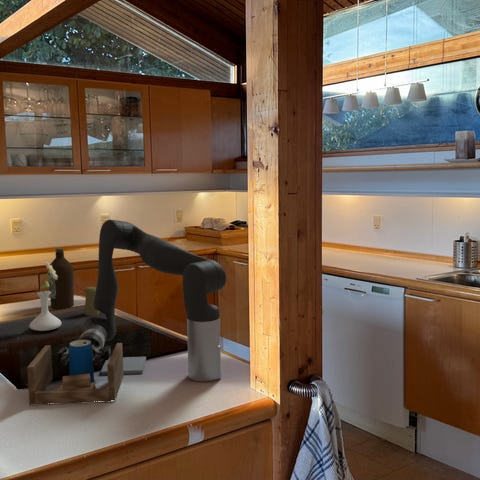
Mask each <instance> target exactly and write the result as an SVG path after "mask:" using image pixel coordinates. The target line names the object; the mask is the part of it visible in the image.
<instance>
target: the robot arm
mask: <svg viewBox="0 0 480 480" xmlns="http://www.w3.org/2000/svg"><path fill="white" fill-rule="evenodd" d="M114 249H116V250H117V249H118V250H124V251H125V250H127V251H131V252H133V253H135V254H138V255H139V257H140V260H141V262H143V263H144V264H145V265H146V266H148V267H150V268H152V269H153V270H156V271H158V272H160V273H163V274H169V275H175V276H182V291H183V305H184V309H185V312H186V318H187V319H186V324H187V325H186V326H187V327H186V328H187V331H186V332H187V360H188V361H187V372H188V373H187V375H188V378H189V379H190V380H191V381H195V382H210V381H211V382H212V381H215V380H216V381H217V380H220V379H222V377H221V376H222V369H221V367H222V366H221V362H222V361H221V358H222V357H221V331H220V327H221V326H220V325H221V323H220V321H221V320H220V318H221V317H220V315H221V313H220V308H219V306H217V305H215V304H212V303H211V304H210V303H208V296H207V295H208V294H212V293H216V292H218V291H220V290H221V289H223V288H224V287H225V285H226V282H227V273H226V271H225V269H224V267H222V265H221V264H220V263H219V262H218V261H215V260H213V259H209V258H207V257H203V256H200V255H197V254H194V253H192V252H190V251H187V250H186V249H183V248H182V247H180V246H178V245H176V244H173V243H172V242H170V241H167V240H165V239H163V238H160V237H158V236H156V235H152V234H149V233H147V232H146V231H144V230H142V229H141V228H139V227H138V226H136V225H134V223H131V222H128V221H123V220H119V219H116V220H115V219H108V220H105V221H104V222H103V224H102V225H101V228H100V230H99V239H98V263H97V265H98V266H97V268H98V271H97V282H96V292H95V298H94V303H93V307H94V309H96V310H98V311H99V313H103V314H104V315H105V316H106V318H103V317H97V316H90V317H89V316H88V317H87V318H86V319H85V321H84V324H83V326H82V329H83V330H82V331H83V333H82V334H81V335H80V337H79V338H78V339H77V340H89V341H91V344H92V347H93V366H98V364H100V363H101V362H102V361H103V360H104V361H106V360H109V358H110V357H111V355H112V353H111V345H107V344H106V345H105V342H110V341H111V340H113V339H114V338H115V336H116V333H117V325H116V316H115V315H116V304H117V303H116V302H117V297H118V292H119V281H118V278H117V275H116V271H115V268H114V264H113V263H114V261H113V254H114V252H115V251H114ZM104 345H105V346H104ZM57 362H58V363H59V362H60V364H61V365H62V367H66V366H67V365H68V364H69V353H68V348H67V346H62V347H61V348H60V349H59V351H58V352H57Z"/></svg>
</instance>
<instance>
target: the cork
mask: <svg viewBox="0 0 480 480" xmlns="http://www.w3.org/2000/svg"><path fill="white" fill-rule="evenodd" d="M96 287H97V286H96ZM96 287H95V286H88V287H85V288H84V295H85V302H84V303H85V304H84V314H83V315H85V316H88V317H89V316H90V317H93V316H97V315H99V314H100V311H98V310H96V309H94V307H93V303H94V298H95V292H96Z"/></svg>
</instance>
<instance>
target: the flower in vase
mask: <svg viewBox="0 0 480 480" xmlns="http://www.w3.org/2000/svg"><path fill="white" fill-rule="evenodd" d="M44 264H45V267H46V269H47V273H46V275H45V278H44V280H43V284H42V285H41V286H40V287H39V288H40V289H41V290H42V291H38V292H36V295H37V296H38V298H39V299H40V300H39V301H40V305H41V308H40V309H41V312H40V313H39V314H38V315H37V316H36V317H35V318H34V319H33V320H32V321H31V322H30V323H29V328H30V329H31V330H33V331H38V332H45V331H51V330H52V331H53V330H55V329H58V328H60V327H61V326H62V323H63V322H62V321H61V320H60V319H59V318H58V317H56V316H55V315H54V314H52V313H51V312H50V311H49V306H48V304H49V303H48V301H49V298H50V293H51V292H50V291H49V290H47V291H46V290H45V289H46V288H49V286H50V285H49V281H48V280H46V279H48V273H50V274H51V276H52V277H53V278H54V279H56V280H57V277H58V276H57V275H56V274H55V273H56V271H55V270H53V268H52V265H50V263H49V261H44Z"/></svg>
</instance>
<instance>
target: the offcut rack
mask: <svg viewBox="0 0 480 480" xmlns="http://www.w3.org/2000/svg"><path fill="white" fill-rule="evenodd" d="M123 357H124V355H123V342H117V343H116V344H115V347H114V349H113V351H112V353H111V354H110V360H109V362H108V364H107V370H108V375H107V388H96V389H86V390H59V391H58V390H47V388H48V387H49V385H50V384H51V382H52V381H53V363H52V361H53V360H52V346H51V344H49V345H44V346H43V348H41V350H40V352H38V354H37V355H36V356H35V357H34V358H33V360H32V361H31V362H30V363H29V365H28V366H27V368H26V370H27V385H28V400H29V401H28V403H29V406H32V405H31V404H43V405H51V404H50V403H70V404H82V403H81V402H94V401H95V402H96V401H97V402H96V403H99V402H98V401H111V400H115V398H116V399H117V397H118V394H119V391H120V388H121V385H122V382H123V380H124V377H125V376H124V374H123ZM118 390H119V391H118ZM117 393H118V394H117ZM116 396H117V397H116ZM115 401H116V400H115ZM77 402H78V403H77ZM79 402H80V403H79ZM48 403H49V404H48Z"/></svg>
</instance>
